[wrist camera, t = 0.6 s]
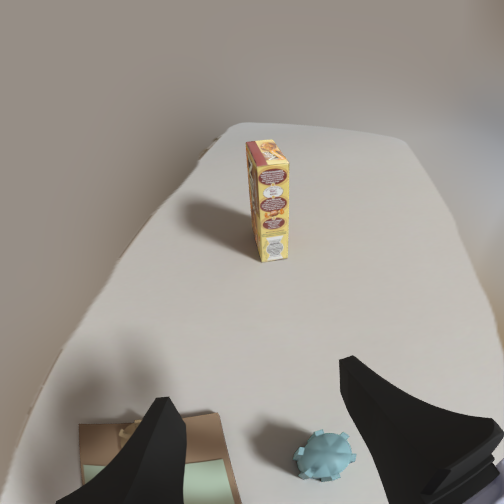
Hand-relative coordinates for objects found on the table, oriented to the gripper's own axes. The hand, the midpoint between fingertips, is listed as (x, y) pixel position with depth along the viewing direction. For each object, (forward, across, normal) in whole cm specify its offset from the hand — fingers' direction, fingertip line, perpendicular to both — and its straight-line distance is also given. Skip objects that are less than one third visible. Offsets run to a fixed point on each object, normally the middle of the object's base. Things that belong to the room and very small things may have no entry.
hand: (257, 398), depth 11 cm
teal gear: (+5, -3, +17) cm, 18 cm away
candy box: (+35, -5, +4) cm, 35 cm away
